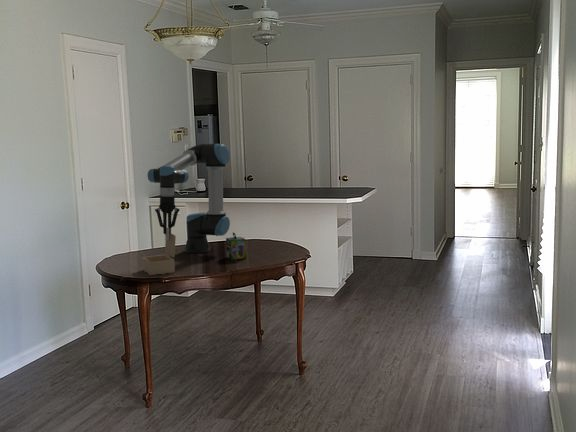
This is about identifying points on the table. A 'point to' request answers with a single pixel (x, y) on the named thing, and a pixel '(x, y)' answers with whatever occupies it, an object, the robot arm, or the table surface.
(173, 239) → the lid
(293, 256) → the table surface
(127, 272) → the table surface
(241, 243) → the colorful juice box
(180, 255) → the table surface
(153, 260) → the box
